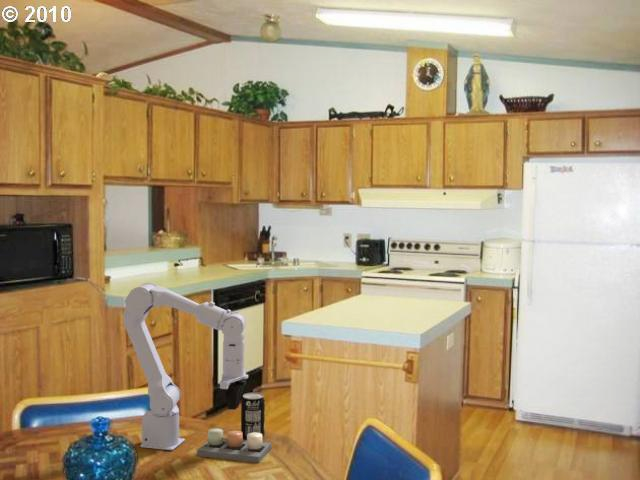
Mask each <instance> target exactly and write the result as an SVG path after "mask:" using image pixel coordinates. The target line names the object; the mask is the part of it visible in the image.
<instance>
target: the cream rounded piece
mask: <svg viewBox="0 0 640 480" xmlns="http://www.w3.org/2000/svg"><path fill="white" fill-rule="evenodd" d="M262 442H263V438H262V434H261V433H257V432H254V433H249V434H247V447H248V448H249V449H259V448H261V447H262Z"/></svg>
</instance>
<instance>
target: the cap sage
mask: <svg viewBox="0 0 640 480" xmlns="http://www.w3.org/2000/svg"><path fill="white" fill-rule="evenodd" d="M223 438H224V430H223V429H222V428H210V429H208V430H207V441H208V444H211V445H219V444H222V443H223Z"/></svg>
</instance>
